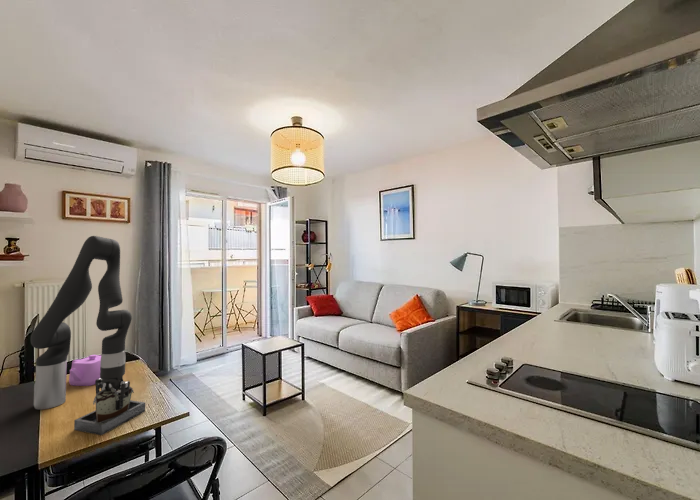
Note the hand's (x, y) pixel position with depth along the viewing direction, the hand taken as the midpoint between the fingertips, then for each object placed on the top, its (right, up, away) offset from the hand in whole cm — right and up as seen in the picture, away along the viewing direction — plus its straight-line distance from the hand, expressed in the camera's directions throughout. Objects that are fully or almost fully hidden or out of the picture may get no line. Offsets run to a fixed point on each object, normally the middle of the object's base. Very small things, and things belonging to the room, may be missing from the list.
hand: (111, 407), depth 116 cm
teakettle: (-38, -5, +36) cm, 52 cm away
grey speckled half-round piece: (-2, -3, +1) cm, 4 cm away
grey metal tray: (0, -5, 0) cm, 5 cm away
